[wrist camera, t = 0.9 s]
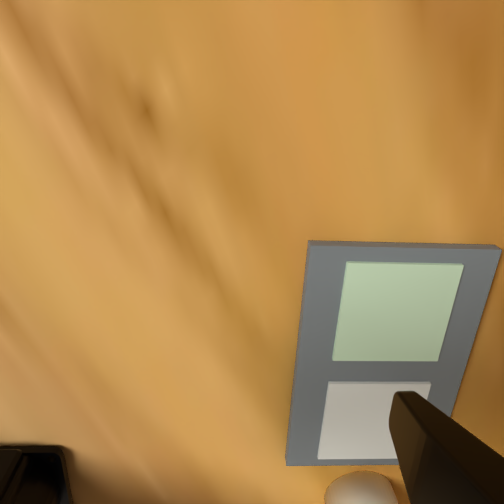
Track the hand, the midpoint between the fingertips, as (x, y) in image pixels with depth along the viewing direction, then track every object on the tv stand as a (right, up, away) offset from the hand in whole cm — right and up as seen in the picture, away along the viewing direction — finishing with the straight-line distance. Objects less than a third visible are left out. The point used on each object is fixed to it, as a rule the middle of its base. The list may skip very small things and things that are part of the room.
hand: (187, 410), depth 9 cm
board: (+8, -3, +14) cm, 16 cm away
